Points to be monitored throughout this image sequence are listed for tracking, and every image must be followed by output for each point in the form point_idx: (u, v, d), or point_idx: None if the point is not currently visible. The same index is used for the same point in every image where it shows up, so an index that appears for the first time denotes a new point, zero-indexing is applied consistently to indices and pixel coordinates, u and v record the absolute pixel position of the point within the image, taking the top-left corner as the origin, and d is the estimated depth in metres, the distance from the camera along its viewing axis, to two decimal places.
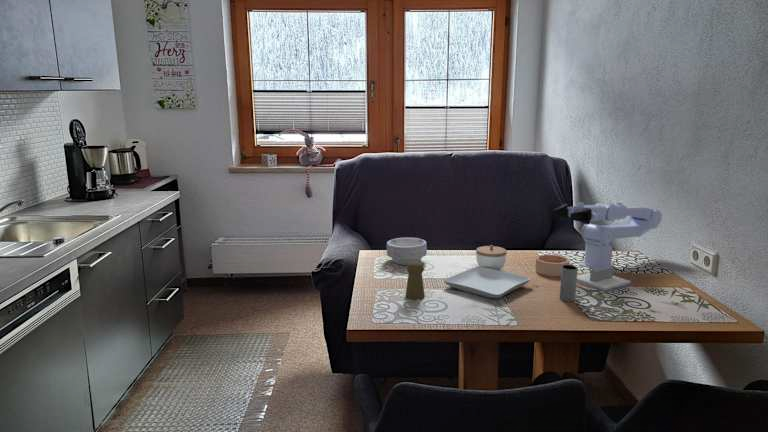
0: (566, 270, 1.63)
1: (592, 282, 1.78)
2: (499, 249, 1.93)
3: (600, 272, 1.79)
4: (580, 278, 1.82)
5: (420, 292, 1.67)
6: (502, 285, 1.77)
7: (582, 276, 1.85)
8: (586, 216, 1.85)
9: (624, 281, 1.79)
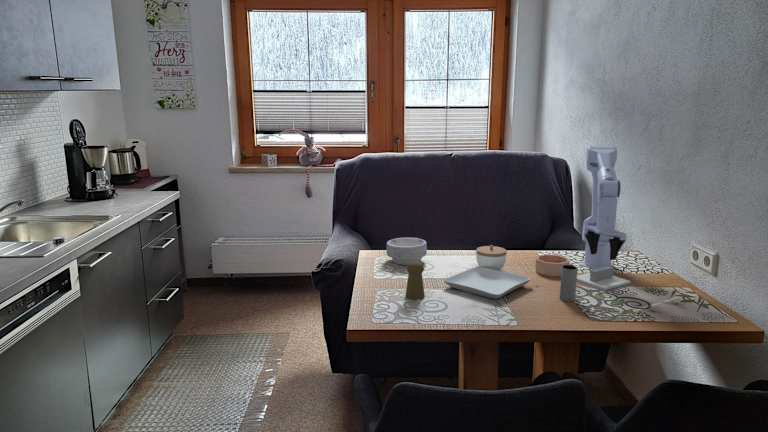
0: (566, 270, 1.63)
1: (592, 282, 1.78)
2: (499, 249, 1.93)
3: (600, 272, 1.79)
4: (580, 278, 1.82)
5: (420, 292, 1.67)
6: (502, 285, 1.77)
7: (582, 276, 1.85)
8: None
9: (624, 281, 1.79)
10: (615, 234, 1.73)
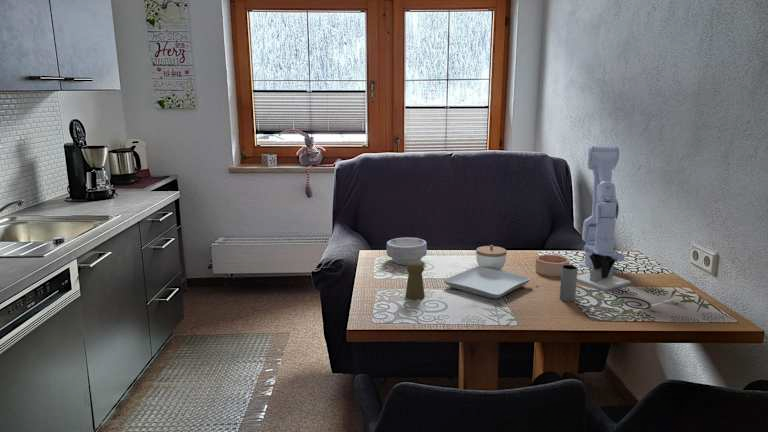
0: (566, 270, 1.63)
1: (592, 282, 1.78)
2: (499, 249, 1.93)
3: (600, 272, 1.79)
4: (580, 278, 1.82)
5: (420, 292, 1.67)
6: (502, 285, 1.77)
7: (582, 276, 1.85)
8: None
9: (624, 281, 1.79)
10: (613, 255, 1.75)
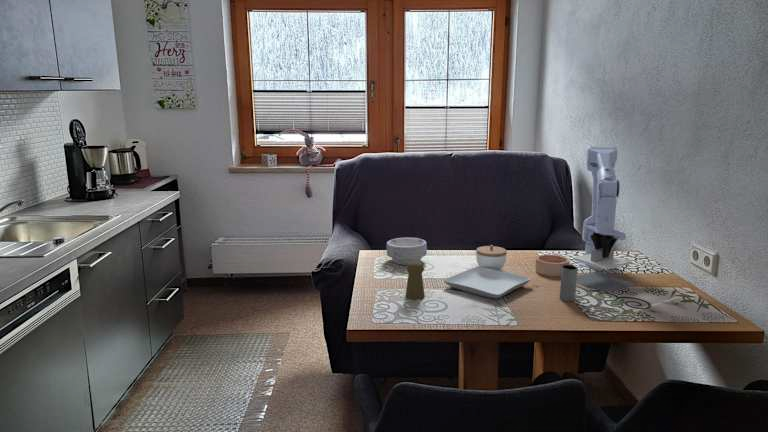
0: (566, 270, 1.63)
1: (593, 262, 1.77)
2: (499, 249, 1.93)
3: (601, 253, 1.78)
4: (581, 259, 1.81)
5: (420, 292, 1.67)
6: (502, 285, 1.77)
7: (583, 256, 1.83)
8: None
9: (625, 261, 1.78)
10: (614, 234, 1.74)
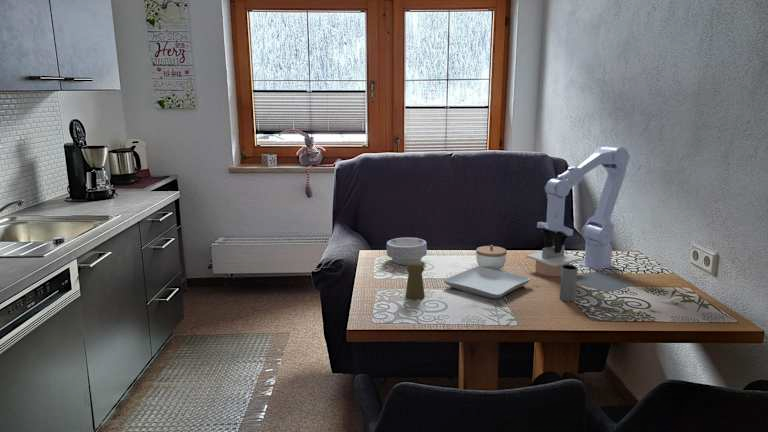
0: (566, 270, 1.63)
1: (544, 259, 1.88)
2: (499, 249, 1.93)
3: (551, 250, 1.89)
4: (533, 256, 1.92)
5: (420, 292, 1.67)
6: (502, 285, 1.77)
7: (536, 254, 1.94)
8: None
9: (574, 258, 1.89)
10: (562, 230, 1.84)
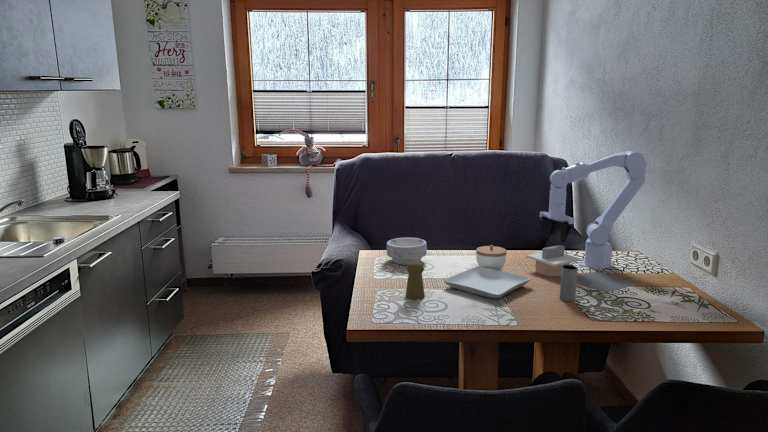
0: (566, 270, 1.63)
1: (544, 259, 1.88)
2: (499, 249, 1.93)
3: (551, 250, 1.89)
4: (533, 256, 1.92)
5: (420, 292, 1.67)
6: (502, 285, 1.77)
7: (536, 254, 1.94)
8: None
9: (574, 258, 1.89)
10: (564, 219, 1.94)
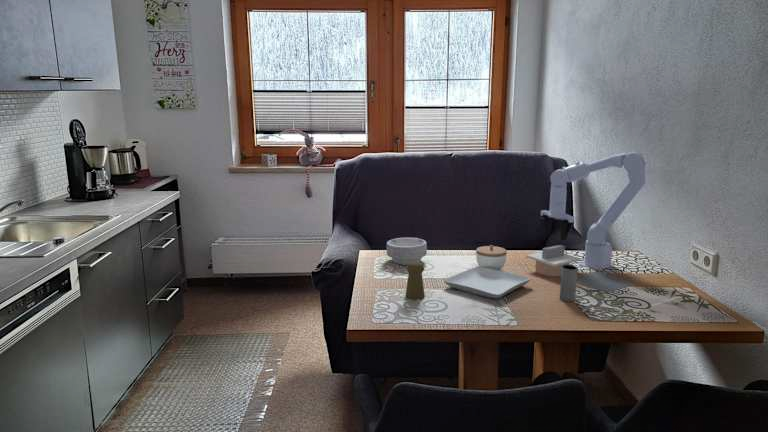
0: (566, 270, 1.63)
1: (544, 259, 1.88)
2: (499, 249, 1.93)
3: (551, 250, 1.89)
4: (533, 256, 1.92)
5: (420, 292, 1.67)
6: (502, 285, 1.77)
7: (536, 254, 1.94)
8: None
9: (574, 258, 1.89)
10: (564, 217, 1.97)
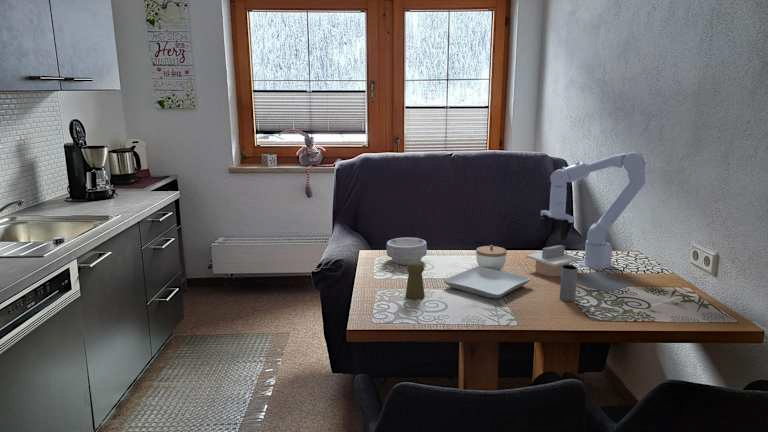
0: (566, 270, 1.63)
1: (544, 259, 1.88)
2: (499, 249, 1.93)
3: (551, 250, 1.89)
4: (533, 256, 1.92)
5: (420, 292, 1.67)
6: (502, 285, 1.77)
7: (536, 254, 1.94)
8: None
9: (574, 258, 1.89)
10: (564, 217, 1.97)
